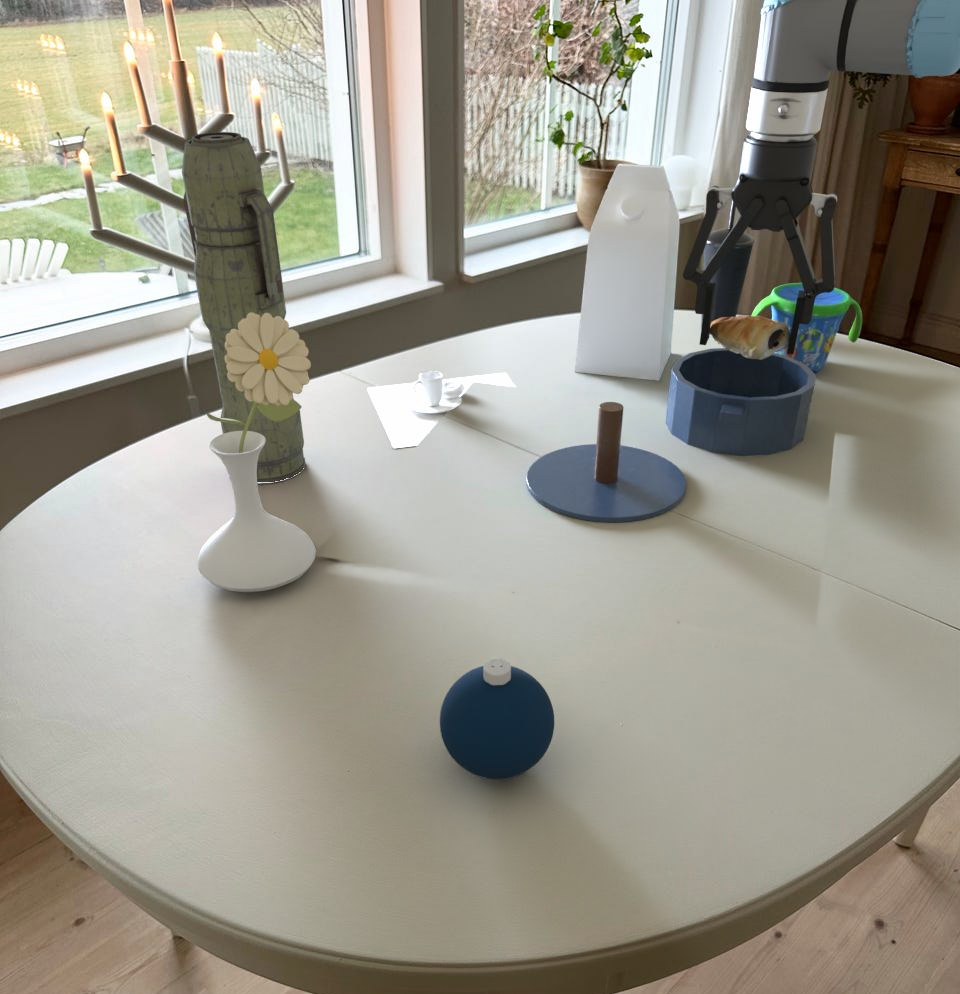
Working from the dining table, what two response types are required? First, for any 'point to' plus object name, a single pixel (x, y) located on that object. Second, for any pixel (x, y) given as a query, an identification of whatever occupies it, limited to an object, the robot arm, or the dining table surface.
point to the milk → (630, 277)
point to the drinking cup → (728, 270)
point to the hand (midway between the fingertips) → (747, 345)
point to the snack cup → (812, 322)
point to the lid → (606, 477)
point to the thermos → (237, 276)
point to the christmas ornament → (497, 721)
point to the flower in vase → (252, 531)
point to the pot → (739, 402)
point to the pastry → (750, 335)
